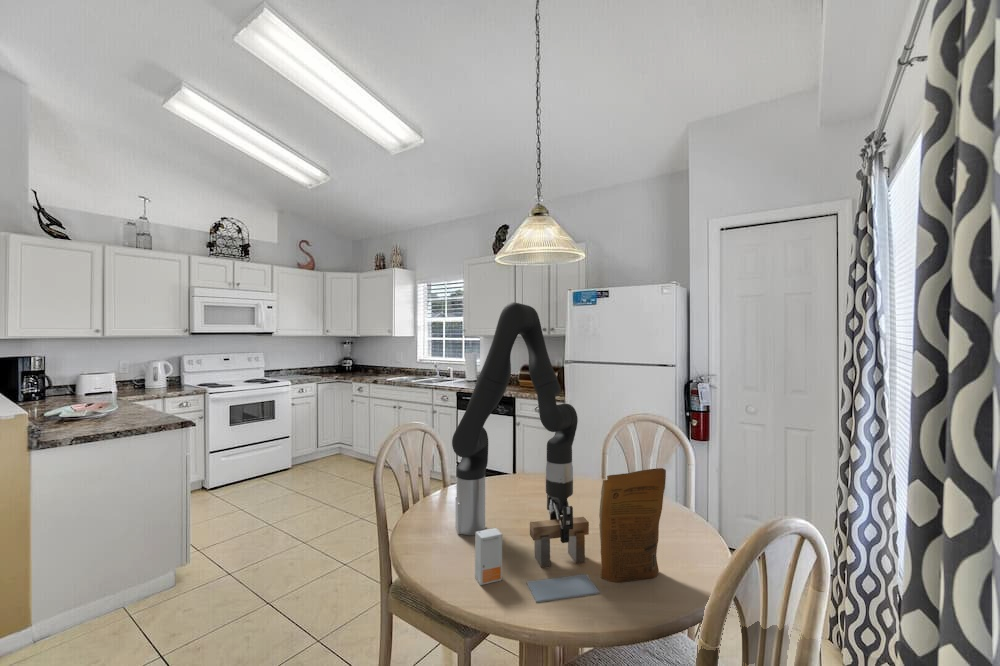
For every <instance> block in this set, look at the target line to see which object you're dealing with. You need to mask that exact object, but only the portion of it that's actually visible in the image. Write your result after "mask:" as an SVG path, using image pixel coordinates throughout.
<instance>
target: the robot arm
mask: <svg viewBox="0 0 1000 666" xmlns="http://www.w3.org/2000/svg"><path fill="white" fill-rule="evenodd" d="M518 335H519V336H521V337H522V339H523V341H524V343H525V345H526V348H527V353H528V372H529V377H530V379H531V383H532V385H533V388H534V391H535V392H536V395H537V406H538V414H539V420H540V422H541V424H542V426H543V427H544V428H545V430H547V431H548V432H552V433H554V436H552V437H551V438H550V439H549V440H547V442H546V463H545V464H546V465H545V493H546V510H547V511H548V514H549V520H556V519H557V520H558V521H559V522H560V542H561V544H568V542H569V529H573V518H574V509H573V508H574V507H573V506H572V505H569V501H568V498H569V497H571V496H573V494H574V466H573V444H574V441H575V436H576V432H577V428H578V422H579V419H578V414H577V410H576V409H575V407H574V405H572V404H570V403H562V404H561V403H560V404H557V399H556V397H557V396H560V394H561V392H562V388H561V384H560V382H559V380H558V377H557V374H556V372H555V370H554V367H553V365H552V362H551V359H550V355H549V353H548V349H547V346H546V342H545V337H544V334H543V329H542V324H541V321H540V318H539V313H538V311H537V310H536V309H535V308H534V307H533V306H531V305H529V304H524V303H520V302H513V301H512V302H510V303H508V304H506V305H505V306H504V307H503V309H502V311H501V312H500V315H499V318H498V320H497V324H496V328H495V331H494V335H493V339H492V342H491V346H490V348H489V351H488V353H487V356H486V358H485V360H484V363H483V366H482V369H481V370H480V372H479V375H478V378H477V381H476V383H475V387H474V388H473V391H472V394H471V396H470V399H469V400H468V401H469V402H468V404H467V406H466V409H465V412H464V414H463V416H462V417H461V420H460V421H459V424H458V425H457V427H456V429H455V430H454V432H453V436H452V439H451V440H452V441H451V447H452V450H453V452H454V454H456V456H458V457H460V458H461V459H460V461H459V463H458V465H457V467H456V480H455V481H456V483H455V484H456V487H455V489H456V490H455V491H456V496H455V529H456V533H457V535H463V536H464V535H465V536H475V532H477V531H482V530H486V470H487V467H488V464H489V463H488V461H489V436H488V432H487V430H486V428H485V427H484V425H485V423H486V421H487V419H488V418H489V417H490V415H491V414H492V413H493V411H494V410H495V409H496V407H497V406H498V404H499V402H501V400H502V398H503V396H504V394H505V392H506V390H507V387H508V386H509V383H510V379H511V374H512V363H511V357H512V356H511V353H512V350H513V347H514V344H515V342H516V339H517V338H518ZM562 520H563V521H562ZM566 522H567V524H566Z"/></svg>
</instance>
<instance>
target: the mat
mask: <svg viewBox="0 0 1000 666" xmlns="http://www.w3.org/2000/svg"><path fill="white" fill-rule="evenodd" d="M526 584H527V586H528V589H529V591H530V592H531V594H532V597H533V599H534V600H535V603H543V602H549V601H556V600H563V599H565V600H566V599H570V598H578V597H585V596H591V595H592V596H593V595H598V594H601V592H600V590H599V589H598V588H597V587H596V585H595V584H594V583H593V581H592V580H591V579H590V577H589V576H588V575H587V573H585V574H577V575H569V576H562V577H554V578H545V579H537V580H531V581H526Z"/></svg>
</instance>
